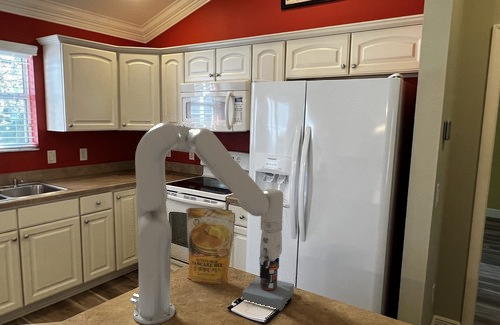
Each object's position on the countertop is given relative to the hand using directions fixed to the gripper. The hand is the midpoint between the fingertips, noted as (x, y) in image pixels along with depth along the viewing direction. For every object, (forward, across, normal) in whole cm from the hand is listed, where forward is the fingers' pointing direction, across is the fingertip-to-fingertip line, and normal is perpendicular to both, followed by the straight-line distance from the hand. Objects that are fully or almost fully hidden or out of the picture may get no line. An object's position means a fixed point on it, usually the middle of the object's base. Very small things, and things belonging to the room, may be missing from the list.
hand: (269, 273), depth 118 cm
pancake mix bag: (+9, +2, +26) cm, 28 cm away
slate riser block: (+9, 0, 0) cm, 9 cm away
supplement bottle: (+6, 0, 0) cm, 6 cm away
